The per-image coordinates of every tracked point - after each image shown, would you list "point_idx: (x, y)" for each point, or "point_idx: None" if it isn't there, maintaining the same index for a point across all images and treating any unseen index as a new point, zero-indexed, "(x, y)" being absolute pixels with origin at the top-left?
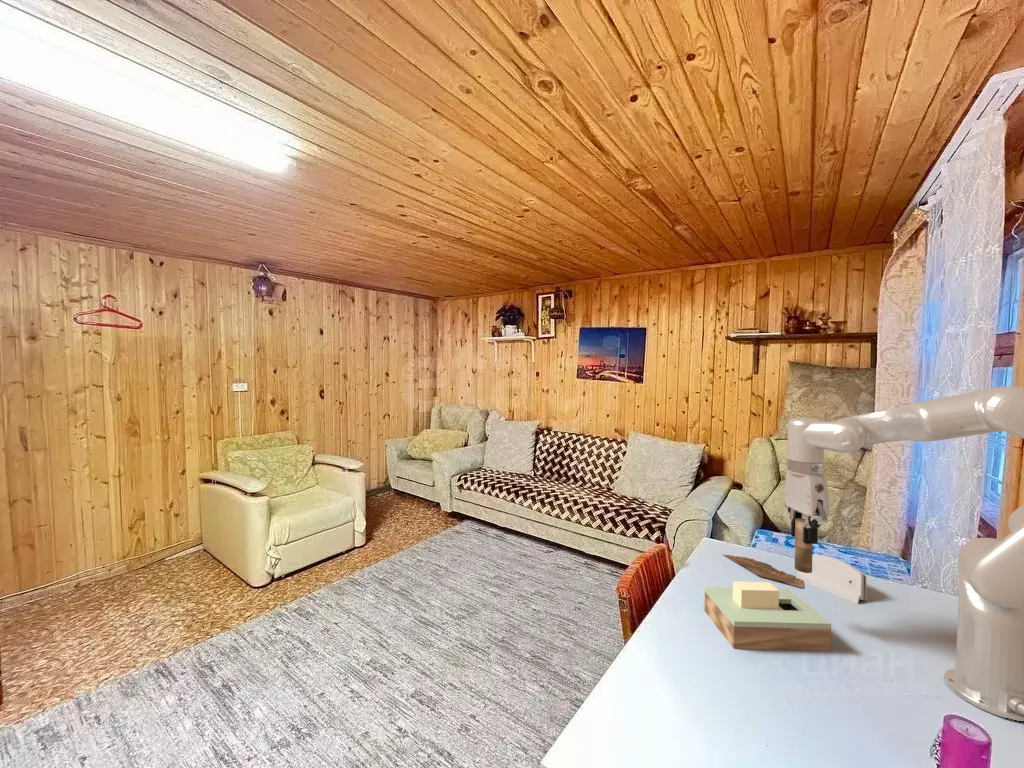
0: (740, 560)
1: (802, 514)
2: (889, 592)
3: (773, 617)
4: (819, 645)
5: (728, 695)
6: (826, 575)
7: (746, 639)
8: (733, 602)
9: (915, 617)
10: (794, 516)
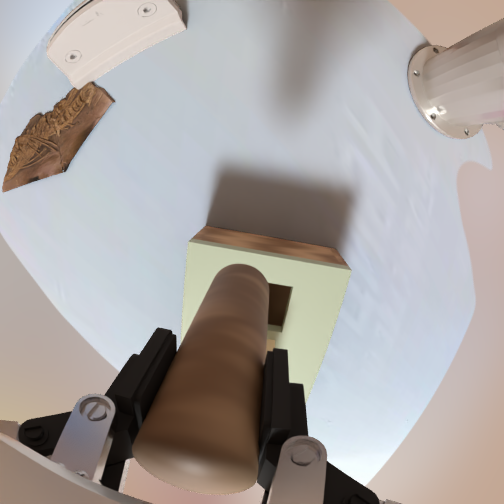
0: (17, 169)
1: (105, 454)
2: None
3: (301, 369)
4: None
5: (354, 426)
6: (105, 39)
7: None
8: None
9: None
10: (123, 471)
